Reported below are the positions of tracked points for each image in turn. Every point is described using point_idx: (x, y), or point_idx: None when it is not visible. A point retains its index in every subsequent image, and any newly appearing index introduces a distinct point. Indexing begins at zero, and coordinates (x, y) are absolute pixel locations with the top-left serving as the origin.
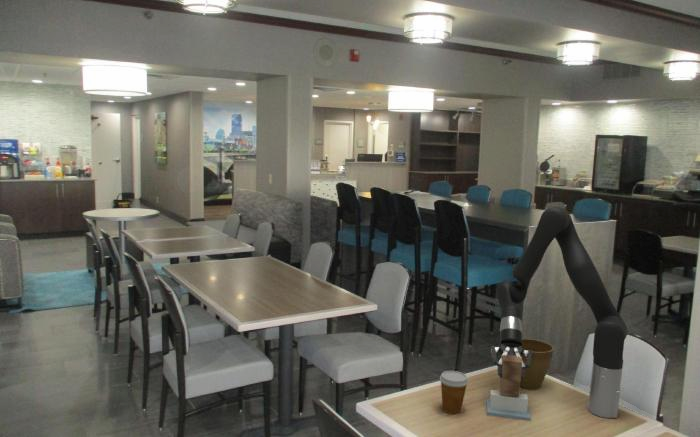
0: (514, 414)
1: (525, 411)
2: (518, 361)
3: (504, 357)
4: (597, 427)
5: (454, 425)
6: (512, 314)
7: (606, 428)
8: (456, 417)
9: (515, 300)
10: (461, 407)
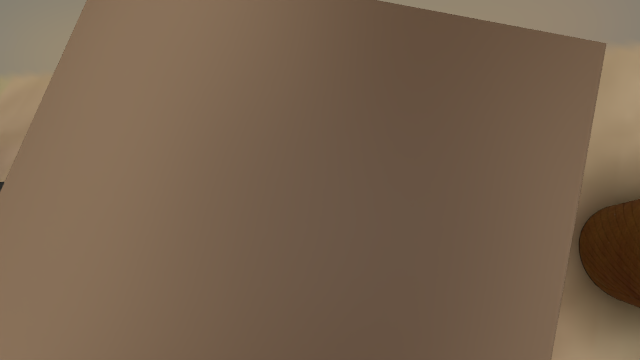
0: None
1: None
2: (163, 11)
3: (496, 305)
4: (30, 102)
5: (635, 94)
6: None
7: (3, 96)
8: (615, 168)
9: None
10: (600, 223)
